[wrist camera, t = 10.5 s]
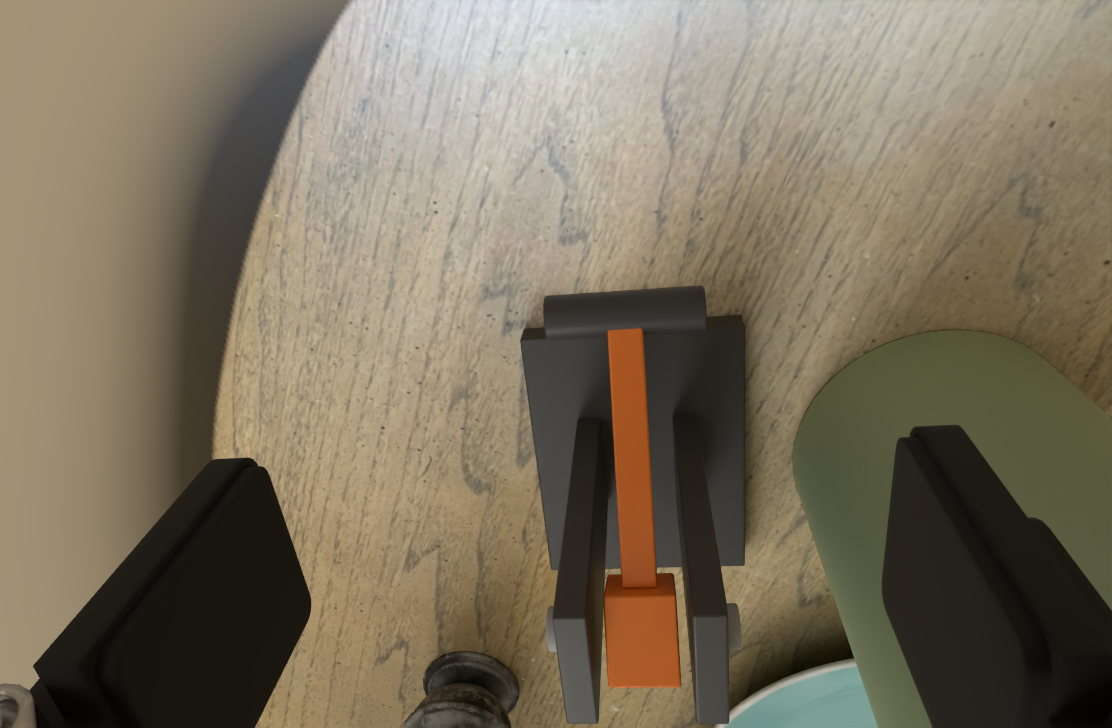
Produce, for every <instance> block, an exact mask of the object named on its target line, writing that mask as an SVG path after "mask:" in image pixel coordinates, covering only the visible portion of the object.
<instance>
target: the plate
mask: <svg viewBox="0 0 1112 728" xmlns="http://www.w3.org/2000/svg"><path fill="white" fill-rule="evenodd" d="M713 728H878V726H877V723H876V720H875V717H874V714H873V711H872V709H871V706H870V703H869V700H868V697H867V694H866V691H865V688H864V685H863V682H862V679H861V676H860V673H859V670H858V667H857V664H856V662H855V659H854V658H852V659H846V660H840V661H836V662H832V663H828V664H824V665H820V666H817V667H813V668H810V669H807V670H804V671H801V672H799V673H796V674H793V675H790V676H788V677H785V678H783V679H781V680H779V681H776V682H774V683H772V684H770V685H768V686H766V687H764V688H762V689H761V690H759V691H757V692H756V693H754V694H752V695H751V696H749V697H748V698H746V699H745V700H743V701H742V702H740V703H739V704H738V705H737V706H735V707H734V708H733V709H732V710H731V711H729V724H716V725H715V726H714V727H713Z"/></svg>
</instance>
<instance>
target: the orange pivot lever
mask: <svg viewBox="0 0 1112 728" xmlns="http://www.w3.org/2000/svg"><path fill="white" fill-rule="evenodd" d="M543 315H544V327H545V334H546V337H547V340H549V341H554V340H570V339H587V338H604V337H608V350H609V368H610V385H611V403H612V421H613V438H614V456H615V473H616V491H617V509H618V526H619V544H620V561H621V574H614V575H608V577H607V581H606V587H605V592H604V597H603V603H604V621H605V638H606V656H607V673H608V686H609V687H680V686H681V673H680V655H679V637H678V620H677V602H676V590H675V581H674V575H673V574H672V573H660V574H657V567H656V550H655V532H654V514H653V497H652V479H651V461H650V444H649V426H648V408H647V391H646V373H645V355H644V338H643V335H653V334H670V333H686V332H703V331H706V325H707V315H706V298H705V290H704V287H703V286H702V285H700V286H685V287H671V288H656V289H641V290H626V291H612V292H597V293H582V294H567V295H553V296H545V298H544V304H543Z"/></svg>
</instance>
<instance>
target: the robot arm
mask: <svg viewBox="0 0 1112 728" xmlns="http://www.w3.org/2000/svg"><path fill="white" fill-rule="evenodd" d="M881 588H882V598H883V603H884V607H885V610H886V613H887V615H888V618H889V620H890V623H891V625H892V628H893V630H894V633H895V635H896V638H897V640H898V643H899V645H900V648H901V650H902V653H903V655H904V658H905V660H906V663H907V665H908V668H909V670H910V673H911V675H912V678H913V680H914V683H915V685H916V688H917V690H918V693H919V695H920V698H921V700H922V703H923V705H924V708H925V710H926V713H927V715H928V718H929V720H930V723H931V725H932V728H1112V610H1111V609H1110V607H1109V606H1108V605H1107V603H1106V602H1105V601H1104V600H1103V598H1102V597H1101V596H1100V594H1099V593H1098V592H1097V590H1096V589H1095V588H1094V586H1093V585H1092V584H1091V582H1090V581H1089V580H1088V578H1087V577H1086V576H1085V574H1084V573H1083V572H1082V570H1081V569H1080V568H1079V566H1078V565H1077V564H1076V562H1075V561H1074V560H1073V558H1072V557H1071V556H1070V554H1069V553H1068V552H1067V551H1066V549H1065V548H1064V547H1063V545H1062V544H1061V543H1060V541H1059V540H1058V539H1057V537H1056V536H1055V535H1054V533H1053V532H1052V531H1051V529H1050V528H1049V527H1048V526H1047V525H1046V524H1045V523H1044V522H1043V521H1042V520H1040V519H1037V518H1035V517H1029V518H1028V517H1027V516H1026V514H1025V513H1024V512H1023V510H1022V509H1021V508H1020V506H1019V505H1018V504H1017V502H1016V501H1015V499H1014V498H1013V497H1012V495H1011V494H1010V493H1009V491H1008V490H1007V488H1006V487H1005V486H1004V484H1003V483H1002V482H1001V480H1000V479H999V477H998V476H997V475H996V473H995V472H994V471H993V469H992V468H991V466H990V465H989V464H988V462H987V461H986V460H985V458H984V457H983V456H982V454H981V453H980V451H979V450H978V449H977V447H976V446H975V445H974V443H973V442H972V440H971V439H970V438H969V436H968V435H967V434H966V432H965V431H964V429H963V428H962V427H961V426H960V425H935V426H915V427H914V428H912V430H911V432H910V436H909V437H900V438H899V439H898V441H897V444H896V450H895V460H894V469H893V479H892V488H891V498H890V507H889V517H888V526H887V536H886V545H885V554H884V564H883V573H882V585H881ZM310 612H311V597H310V593H309V590H308V587H307V584H306V581H305V579H304V576H303V573H302V570H301V567H300V564H299V561H298V558H297V555H296V552H295V549H294V546H293V543H292V540H291V537H290V534H289V532H288V529H287V526H286V523H285V520H284V517H283V514H282V511H281V508H280V505H279V502H278V499H277V496H276V493H275V490H274V488H273V485H272V482H271V479H270V476H269V474H268V471H267V470H266V469H265V468H264V467H261V466H258V465H257V463H256V462H255V461H254V460H253V459H251V458H231V459H215V460H212V461H210V462H209V463H208V464H207V465H206V466H205V467H204V468H203V470H202V471H201V472H200V473H199V474H198V475H197V476H196V478H195V479H194V480H193V481H192V482H191V484H190V485H189V486H188V487H187V488H186V489H185V490H184V491H183V493H182V494H181V495H180V496H179V497H178V498H177V500H176V501H175V502H174V503H173V504H172V505H171V507H170V508H169V509H168V510H167V511H166V512H165V514H164V515H163V516H162V517H161V518H160V519H159V521H158V522H157V523H156V524H155V525H154V526H153V527H152V529H151V530H150V531H149V532H148V533H147V534H146V536H145V537H144V538H143V539H142V540H141V542H140V543H139V544H138V545H137V546H136V547H135V548H134V549H133V551H132V552H131V553H130V554H129V555H128V556H127V558H126V559H125V560H124V561H123V562H122V563H121V564H120V566H119V567H118V568H117V569H116V570H115V572H114V573H113V574H112V575H111V576H110V577H109V578H108V580H107V581H106V582H105V583H104V584H103V585H102V587H101V588H100V589H99V590H98V591H97V592H96V593H95V595H94V596H93V597H92V598H91V599H90V601H89V602H88V603H87V604H86V605H85V606H84V607H83V609H82V610H81V611H80V612H79V613H78V614H77V615H76V617H75V618H74V619H73V620H72V621H71V622H70V624H69V625H68V626H67V627H66V628H65V629H64V631H63V632H62V633H61V634H60V635H59V636H58V638H57V639H56V640H55V641H54V642H53V643H52V644H51V646H50V647H49V648H48V649H47V650H46V651H45V653H44V654H43V655H42V656H41V657H40V659H39V660H38V661H37V662H36V663H35V664H34V665H33V667H34V669H35V670H36V672H37V674H38V676H39V677H40V679H39V680H38V681H37V682H36V684H35V685H34V686H33V687H32V688H31V689H30V691H29V690H28V689H26V688H24V687H22V686H21V685H16V684H0V728H255V726H256V724H257V722H258V720H259V718H260V716H261V714H262V712H263V710H264V708H265V706H266V704H267V702H268V700H269V698H270V696H271V694H272V692H273V690H274V688H275V686H276V684H277V682H278V680H279V678H280V676H281V674H282V672H283V670H284V668H285V666H286V664H287V662H288V660H289V658H290V656H291V654H292V652H293V650H294V648H295V646H296V644H297V642H298V640H299V638H300V636H301V634H302V632H303V630H304V628H305V626H306V624H307V622H308V619H309V617H310Z"/></svg>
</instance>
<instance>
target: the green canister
mask: <svg viewBox="0 0 1112 728" xmlns="http://www.w3.org/2000/svg"><path fill="white" fill-rule="evenodd" d="M935 425H960V426H961V427H962V428H963V429H964V431H965V432H966V434H967V435H968V436H969V438H970V439H971V440H972V442H973V443H974V445H975V446H976V447H977V449H978V450H979V451H980V453H981V454H982V456H983V457H984V458H985V460H986V461H987V462H988V464H989V465H990V466H991V468H992V469H993V471H994V472H995V473H996V475H997V476H998V477H999V479H1000V480H1001V482H1002V483H1003V484H1004V486H1005V487H1006V488H1007V490H1008V491H1009V493H1010V494H1011V495H1012V497H1013V498H1014V499H1015V501H1016V502H1017V504H1018V505H1019V506H1020V508H1021V509H1022V510H1023V512H1024V513H1025V514H1026V516H1027V517H1028V518H1029V517H1035V518H1037V519H1040V520H1042V521H1043V522H1044V523H1045V524H1046V525H1047V526H1048V527H1049V528H1050V529H1051V531H1052V532H1053V533H1054V535H1055V536H1056V537H1057V539H1058V540H1059V541H1060V543H1061V544H1062V545H1063V547H1064V548H1065V549H1066V551H1067V552H1068V553H1069V554H1070V556H1071V557H1072V558H1073V560H1074V561H1075V562H1076V564H1077V565H1078V566H1079V568H1080V569H1081V570H1082V572H1083V573H1084V574H1085V576H1086V577H1087V578H1088V580H1089V581H1090V582H1091V584H1092V585H1093V586H1094V588H1095V589H1096V590H1097V592H1098V593H1099V594H1100V596H1101V597H1102V598H1103V600H1104V601H1105V602H1106V603H1107V605H1108V606H1109V607H1110V609H1111V610H1112V417H1111V416H1110V415H1108V414H1107V413H1106V412H1105V411H1104V410H1103V409H1102V408H1100V407H1099V406H1098V405H1097V404H1096V403H1095V402H1093V401H1092V400H1091V399H1090V398H1089V397H1088V396H1087V395H1085V394H1084V393H1083V392H1082V391H1081V390H1080V389H1078V388H1077V387H1076V386H1075V385H1074V384H1073V383H1072V382H1070V381H1069V380H1068V379H1067V378H1066V377H1065V376H1063V375H1062V374H1061V373H1060V372H1059V371H1058V370H1057V369H1055V368H1054V367H1053V366H1052V365H1051V364H1050V363H1048V362H1047V361H1046V360H1045V359H1043V358H1042V357H1041V356H1040V355H1038V354H1037V353H1036V352H1034V351H1033V350H1031V349H1029V348H1027V347H1026V346H1024V345H1022V344H1020V343H1018V342H1015V341H1013V340H1010V339H1007V338H1005V337H1002V336H998V335H994V334H990V333H985V332H977V331H969V330H943V331H934V332H926V333H921V334H917V335H912V336H908V337H904V338H901V339H899V340H896V341H893V342H890V343H887V344H885V345H883V346H881V347H878V348H876V349H874V350H872V351H870V352H868V353H866V354H865V355H863V356H861V357H860V358H858V359H857V360H855V361H853V362H852V363H850V364H849V365H848V366H847V367H845V368H844V369H843V370H841V371H840V372H839V373H838V374H837V375H836V376H835V377H833V378H832V379H831V380H830V381H829V382H828V383H827V384H826V385H825V386H824V388H823V389H822V390H821V391H820V393H819V394H818V395H817V396H816V398H815V399H814V400H813V402H812V403H811V405H810V407H809V408H808V410H807V412H806V413H805V415H804V417H803V420H802V422H801V424H800V427H799V429H798V432H797V436H796V440H795V443H794V451H793V475H794V479H795V484H796V488H797V491H798V494H799V497H800V500H801V503H802V506H803V509H804V512H805V515H806V518H807V520H808V523H809V526H810V529H811V532H812V535H813V538H814V541H815V544H816V547H817V550H818V553H819V556H820V559H821V562H822V565H823V567H824V570H825V573H826V576H827V579H828V582H829V585H830V588H831V591H832V594H833V597H834V600H835V603H836V606H837V609H838V612H839V615H840V617H841V620H842V623H843V626H844V629H845V632H846V635H847V638H848V641H849V644H850V647H851V650H852V653H853V656H854V659H855V662H856V664H857V667H858V670H859V673H860V676H861V679H862V682H863V685H864V688H865V691H866V694H867V697H868V700H869V703H870V706H871V709H872V711H873V714H874V717H875V720H876V723H877V726H878V728H932V725H931V723H930V720H929V718H928V715H927V713H926V710H925V708H924V705H923V703H922V700H921V698H920V695H919V693H918V690H917V688H916V685H915V683H914V680H913V678H912V675H911V673H910V670H909V668H908V665H907V663H906V660H905V658H904V655H903V653H902V650H901V648H900V645H899V643H898V640H897V638H896V635H895V633H894V630H893V628H892V625H891V623H890V620H889V618H888V615H887V613H886V610H885V607H884V603H883V598H882V588H881V585H882V573H883V564H884V554H885V545H886V536H887V526H888V517H889V507H890V498H891V488H892V479H893V469H894V460H895V450H896V444H897V441H898V439H899V438H900V437H909V436H910V432H911V430H912V428H914V427H915V426H935Z"/></svg>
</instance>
